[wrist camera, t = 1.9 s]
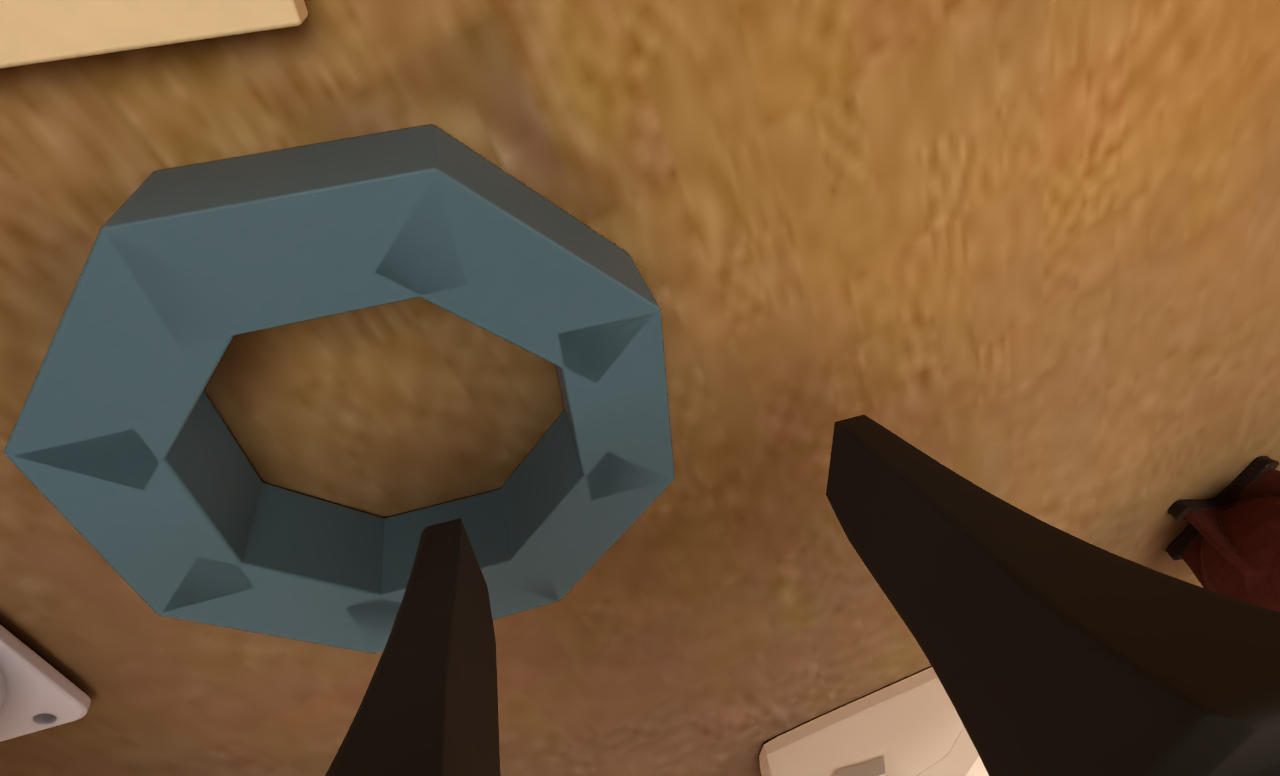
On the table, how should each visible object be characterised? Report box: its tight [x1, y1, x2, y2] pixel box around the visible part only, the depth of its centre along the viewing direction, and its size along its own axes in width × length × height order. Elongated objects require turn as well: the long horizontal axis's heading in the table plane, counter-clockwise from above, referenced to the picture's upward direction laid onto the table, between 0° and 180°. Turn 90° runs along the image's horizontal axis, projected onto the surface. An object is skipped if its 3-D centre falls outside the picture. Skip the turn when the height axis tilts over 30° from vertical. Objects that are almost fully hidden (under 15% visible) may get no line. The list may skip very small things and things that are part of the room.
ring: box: [4, 124, 674, 653], centre depth 15 cm, size 12×12×3 cm
